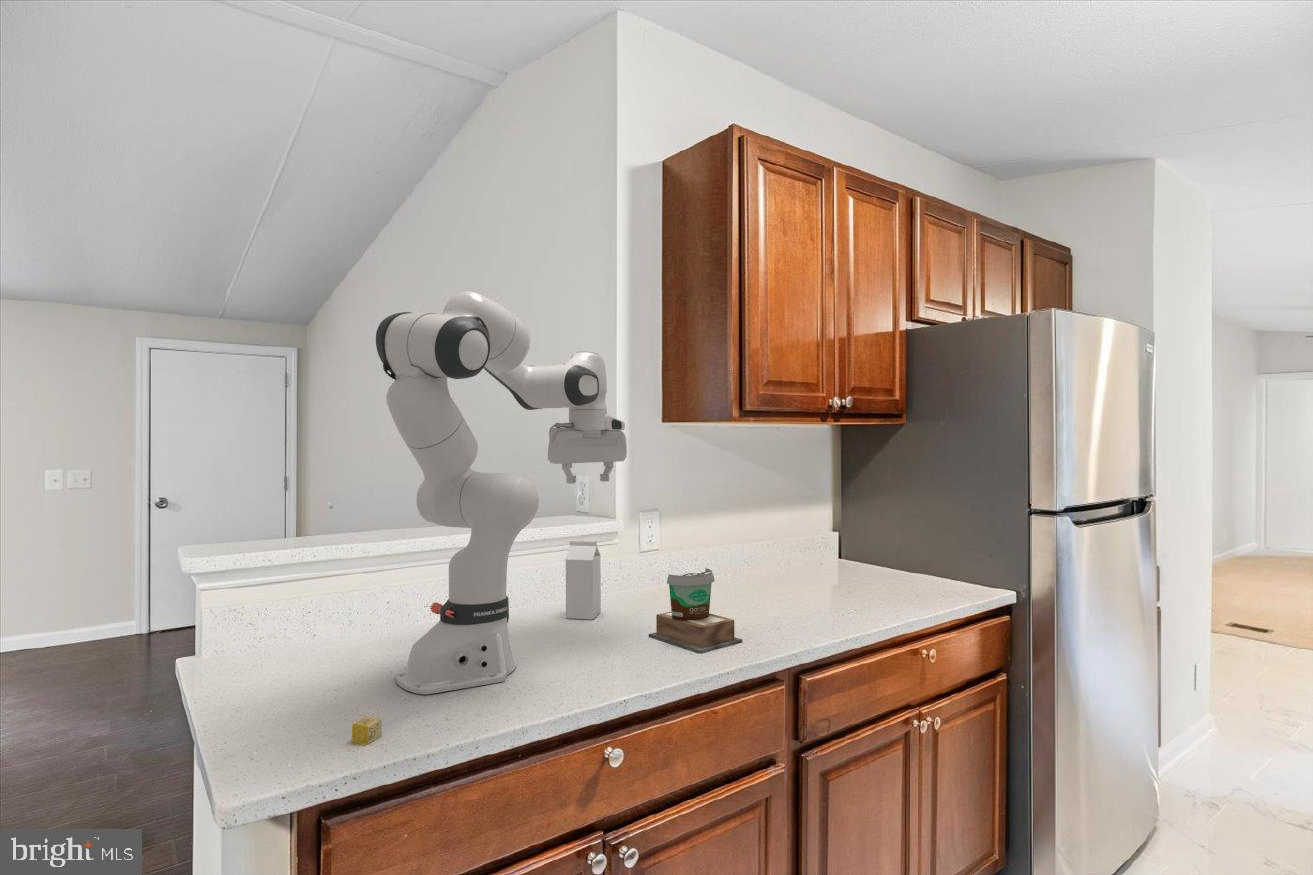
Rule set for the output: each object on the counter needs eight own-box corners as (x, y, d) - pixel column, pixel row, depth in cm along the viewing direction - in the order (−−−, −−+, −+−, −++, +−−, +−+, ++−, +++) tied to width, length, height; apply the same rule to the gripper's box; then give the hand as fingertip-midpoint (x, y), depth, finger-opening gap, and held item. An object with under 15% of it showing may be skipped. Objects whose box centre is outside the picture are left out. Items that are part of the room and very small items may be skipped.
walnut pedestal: (699, 653, 157) (699, 629, 157) (648, 636, 170) (648, 614, 170) (742, 642, 165) (742, 619, 165) (690, 626, 178) (690, 605, 178)
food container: (685, 624, 160) (684, 578, 160) (666, 619, 165) (666, 574, 165) (726, 615, 168) (725, 571, 168) (707, 610, 173) (707, 567, 173)
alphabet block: (381, 737, 115) (381, 717, 115) (368, 745, 112) (368, 725, 112) (365, 734, 116) (365, 715, 116) (351, 743, 113) (351, 723, 113)
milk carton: (593, 620, 185) (592, 543, 185) (565, 618, 186) (565, 543, 186) (600, 613, 192) (600, 539, 192) (574, 612, 193) (574, 539, 193)
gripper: (557, 422, 163) (557, 485, 164) (630, 422, 177) (630, 481, 177) (542, 422, 168) (542, 483, 168) (614, 423, 181) (614, 479, 182)
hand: (588, 482), depth 173 cm, fingers open, 8 cm apart
